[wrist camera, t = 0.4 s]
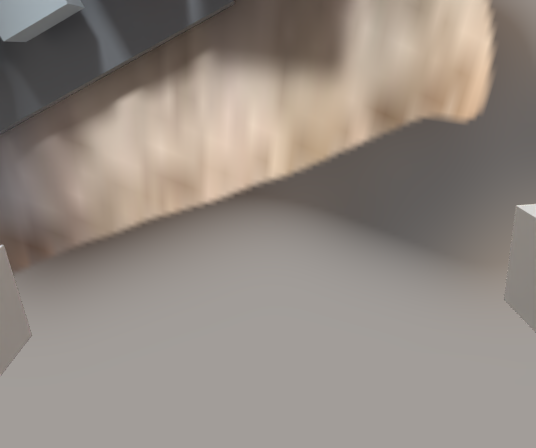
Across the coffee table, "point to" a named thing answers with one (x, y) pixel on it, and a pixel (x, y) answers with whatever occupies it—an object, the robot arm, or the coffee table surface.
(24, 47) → the keypad base
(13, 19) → the key slate
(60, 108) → the coffee table surface
